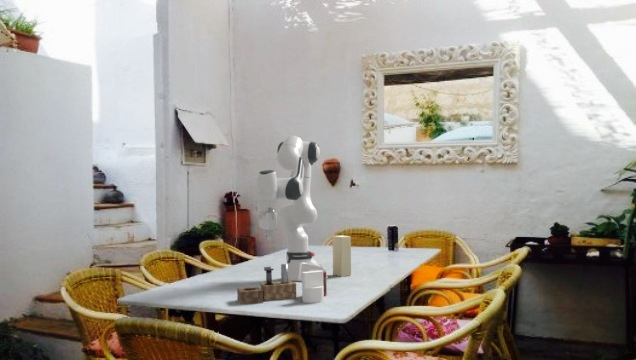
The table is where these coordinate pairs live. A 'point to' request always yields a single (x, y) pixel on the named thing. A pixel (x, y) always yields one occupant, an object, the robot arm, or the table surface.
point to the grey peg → (284, 273)
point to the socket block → (278, 290)
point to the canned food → (323, 279)
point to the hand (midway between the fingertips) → (268, 239)
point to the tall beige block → (341, 255)
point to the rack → (249, 295)
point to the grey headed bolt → (268, 275)
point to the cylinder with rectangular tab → (312, 286)
